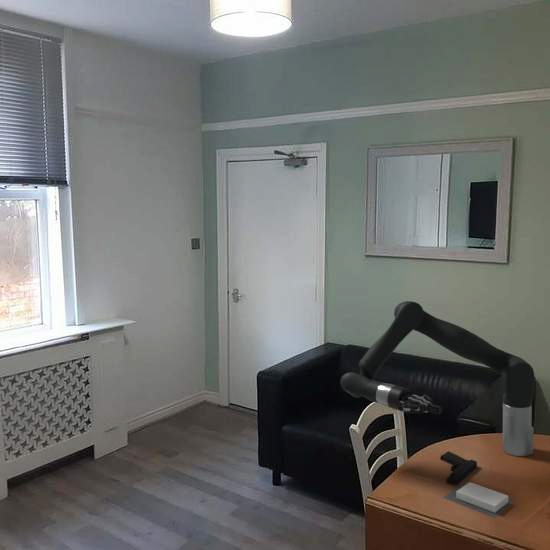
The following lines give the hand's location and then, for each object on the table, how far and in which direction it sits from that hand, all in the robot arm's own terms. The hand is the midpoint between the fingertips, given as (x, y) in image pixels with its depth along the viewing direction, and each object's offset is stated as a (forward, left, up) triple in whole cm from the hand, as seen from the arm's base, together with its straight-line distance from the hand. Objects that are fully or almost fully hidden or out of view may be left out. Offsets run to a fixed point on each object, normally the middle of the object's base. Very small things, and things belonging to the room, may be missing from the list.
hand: (440, 410), depth 173 cm
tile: (-5, +6, -23) cm, 24 cm away
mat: (-9, +9, -24) cm, 27 cm away
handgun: (-5, -11, -25) cm, 28 cm away
